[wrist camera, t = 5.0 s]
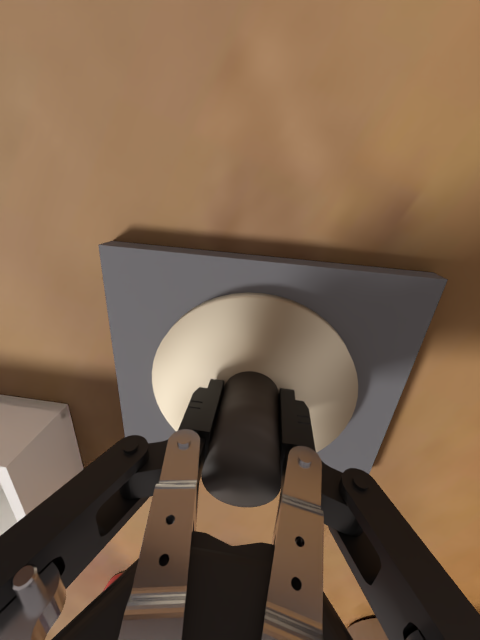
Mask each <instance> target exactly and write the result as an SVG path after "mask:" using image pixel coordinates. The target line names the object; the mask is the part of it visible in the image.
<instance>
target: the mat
mask: <svg viewBox="0 0 480 640" xmlns="http://www.w3.org/2000/svg"><path fill="white" fill-rule="evenodd" d="M99 252H100V259H101V267H102V274H103V281H104V288H105V296H106V303H107V310H108V317H109V325H110V332H111V339H112V347H113V354H114V361H115V368H116V376H117V383H118V390H119V397H120V405H121V412H122V419H123V426H124V434H125V437H127V436H131V435H139V436H142V437H144V438H145V439H146V440H147V442H148V443H155V442H161V441H165V440H168V439H169V437H170V436H171V435H172V434H173V433H174V432H176V431H175V430H174V429H173V428H172V426H171V425H170V424H169V423H168V421H167V420H166V418H165V417H164V415H163V414H162V412H161V410H160V408H159V406H158V404H157V401H156V398H155V395H154V391H153V385H152V368H153V361H154V358H155V355H156V352H157V349H158V347H159V345H160V343H161V342H162V340H163V338H164V337H165V336H166V334H167V333H168V332H169V330H170V329H171V328H172V326H173V325H174V324H175V323H176V322H177V321H178V320H179V319H180V318H181V317H182V316H183V315H184V314H186V313H187V312H188V311H190V310H191V309H192V308H194V307H196V306H198V305H200V304H202V303H203V302H205V301H208V300H211V299H214V298H216V297H220V296H224V295H229V294H236V293H264V294H270V295H276V296H280V297H283V298H287V299H290V300H293V301H295V302H297V303H299V304H302V305H304V306H306V307H307V308H309V309H311V310H312V311H314V312H316V313H317V314H318V315H320V316H321V317H322V318H323V319H325V320H326V321H327V322H328V323H329V324H330V325H331V326H332V327H333V328H334V329H335V330H336V331H337V333H338V334H339V336H340V337H341V339H342V340H343V342H344V343H345V345H346V347H347V350H348V352H349V354H350V356H351V358H352V360H353V362H354V366H355V369H356V372H357V379H358V398H357V402H356V407H355V410H354V412H353V415H352V417H351V419H350V421H349V422H348V424H347V426H346V427H345V429H344V430H343V431H342V432H341V434H340V435H339V436H338V437H337V438H336V439H335V440H334V441H332V442H331V443H330V444H329V445H327V446H326V447H325V448H323V449H322V450H320V451H318V452H316V453H317V454H318V455H319V457H320V459H321V460H322V461H323V462H324V463H325V464H326V465H328V466H329V467H331V468H333V469H336V470H338V471H340V472H342V473H343V472H344V471H345V470H346V469H349V468H357V469H360V470H363V471H364V472H366V473H368V474H369V473H370V470H371V468H372V465H373V463H374V461H375V458H376V456H377V453H378V451H379V448H380V446H381V443H382V441H383V438H384V436H385V433H386V431H387V428H388V426H389V423H390V421H391V419H392V416H393V414H394V411H395V409H396V406H397V404H398V401H399V399H400V396H401V394H402V391H403V389H404V386H405V384H406V381H407V379H408V376H409V374H410V372H411V369H412V367H413V364H414V362H415V359H416V357H417V354H418V352H419V349H420V347H421V344H422V342H423V339H424V337H425V334H426V332H427V329H428V327H429V325H430V322H431V320H432V317H433V315H434V312H435V310H436V307H437V305H438V302H439V300H440V297H441V295H442V292H443V290H444V287H445V285H446V282H447V279H445V278H443V277H441V276H439V275H437V274H435V273H432V272H422V271H412V270H402V269H391V268H381V267H371V266H361V265H351V264H341V263H331V262H320V261H310V260H300V259H290V258H280V257H270V256H260V255H250V254H239V253H229V252H219V251H209V250H199V249H189V248H179V247H168V246H158V245H148V244H138V243H128V242H118V241H110V242H106V243H103V244H99Z"/></svg>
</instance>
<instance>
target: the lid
mask: <svg viewBox="0 0 480 640" xmlns="http://www.w3.org/2000/svg"><path fill="white" fill-rule="evenodd" d="M210 379H217V380H224V390H223V394H222V398H221V402H220V406H219V409H218V413H217V417H216V421H215V425H214V429H213V433H212V437H211V440H210V444H209V447H208V451H207V455H206V458H205V462H204V466H203V470H202V482H203V484H204V486H205V488H206V490H207V491H208V492H209V493H210V494H211V495H212V496H214V497H215V498H216V499H218V500H220V501H222V502H224V503H227V504H229V505H233V506H238V507H257V506H261V505H264V504H267V503H269V502H270V501H272V500H273V499H274V498H275V497H276V496H277V495H278V494H279V492H280V489H281V459H280V428H279V390H280V388H284V389H292V390H294V391H295V400H299V401H304V402H305V404H306V405H307V407H308V408H309V413H310V419H311V425H312V431H313V438H314V444H315V450H316V452H318V451H320V450H322V449H323V448H325V447H326V446H327V445H329V444H330V443H331V442H332V441H334V440H335V439H336V438H337V437H338V436H339V435H340V434H341V432H342V431H343V430H344V429H345V427H346V426H347V424H348V422H349V421H350V419H351V417H352V415H353V412H354V410H355V407H356V402H357V398H358V379H357V372H356V369H355V366H354V362H353V360H352V358H351V356H350V354H349V352H348V350H347V347H346V345H345V343H344V342H343V340H342V339H341V337H340V336H339V334H338V333H337V331H336V330H335V329H334V328H333V327H332V326H331V325H330V324H329V323H328V322H327V321H326V320H325V319H323V318H322V317H321V316H320V315H318V314H317V313H316V312H314V311H312V310H311V309H309V308H307V307H306V306H304V305H302V304H299V303H297V302H295V301H293V300H290V299H287V298H283V297H280V296H276V295H270V294H264V293H236V294H229V295H224V296H220V297H216V298H214V299H211V300H208V301H205V302H203V303H202V304H200V305H198V306H196V307H194V308H192V309H191V310H190V311H188V312H187V313H186V314H184V315H183V316H182V317H181V318H180V319H179V320H178V321H177V322H176V323H175V324H174V325H173V326H172V328H171V329H170V330H169V332H168V333H167V334H166V336H165V337H164V338H163V340H162V342H161V343H160V345H159V347H158V349H157V352H156V355H155V358H154V361H153V368H152V385H153V391H154V395H155V398H156V401H157V404H158V406H159V408H160V410H161V412H162V414H163V415H164V417H165V418H166V420H167V421H168V423H169V424H170V425H171V426H172V428H173V429H174V430H175V431H178V429H179V427H180V424H181V422H182V419H183V417H184V414H185V412H186V409H187V408H188V404H189V402H190V399H191V397H192V394H193V393H194V392H195V391H196V390H197V389H198V388H199V387H203V388H208V385H209V382H210Z"/></svg>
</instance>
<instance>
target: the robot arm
mask: <svg viewBox="0 0 480 640" xmlns="http://www.w3.org/2000/svg"><path fill="white" fill-rule="evenodd" d="M223 390H224V380H217V379H210V382H209V385H208V388H203V387H199V388H198V389H197V390H196V391H195V392H194V393H193V394H192V397H191V399H190V402H189V404H188V408H187V409H186V412H185V414H184V417H183V419H182V422H181V424H180V427H179V429H178V431H176V432H174V433H173V434H172V435H171V436H170V437H169V439H168V440H165V441H161V442H155V443H148V442H147V440H146V439H145V438H144V437H142V436H139V435H131V436H127V437H125V438H123V439H121V440H120V441H118V442H117V443H116V444H115V445H113V446H112V447H111V448H110V449H108V450H107V451H106V452H105V453H103V454H102V455H101V456H100V457H98V458H97V459H96V460H95V461H93V462H92V463H91V464H90V465H88V466H87V467H86V468H85V469H83V470H82V471H81V472H80V473H78V474H77V475H76V476H75V477H73V478H72V479H71V480H70V481H68V482H67V483H66V484H65V485H63V486H62V487H61V488H60V489H58V490H57V491H56V492H54V493H53V494H52V495H51V496H49V497H48V498H47V499H46V500H44V501H43V502H42V503H41V504H39V505H38V506H37V507H36V508H34V509H33V510H32V511H31V512H29V513H28V514H27V515H26V516H24V517H23V518H22V519H21V520H19V521H18V522H17V523H16V524H14V525H13V526H12V527H11V528H9V529H8V530H7V531H6V532H4V533H3V534H2V535H1V536H0V640H45V637H46V635H47V633H48V632H49V630H50V628H51V627H52V626H53V624H54V623H55V621H56V620H57V619H58V617H59V615H60V614H61V612H62V610H63V607H64V604H65V600H66V588H67V587H68V586H69V585H70V584H71V583H72V582H73V581H74V580H75V579H76V577H77V576H78V575H79V574H80V573H81V572H82V571H83V570H84V569H85V568H86V566H87V565H88V564H89V563H90V562H91V561H92V560H93V559H94V558H95V557H96V555H97V554H98V553H99V552H100V551H101V550H102V549H103V548H104V547H105V546H106V544H107V543H108V542H109V541H110V540H111V539H112V538H113V537H114V536H115V535H116V533H117V532H118V531H119V530H120V529H121V528H122V527H123V526H124V525H125V524H126V522H127V521H128V520H129V519H130V518H131V517H132V516H133V515H134V514H135V513H136V511H137V510H138V509H139V508H140V507H141V506H142V505H143V504H144V503H145V502H146V500H147V499H148V498H149V497H150V496H153V498H152V502H151V507H150V511H149V516H148V520H147V525H146V529H145V534H144V538H143V542H142V547H141V551H140V556H139V558H138V559H137V560H136V561H135V562H134V563H133V564H132V565H131V566H130V567H129V568H128V569H127V570H126V571H125V572H123V573H122V574H121V575H120V576H119V577H118V578H117V579H116V580H115V581H114V582H113V583H112V584H111V585H110V586H108V587H107V588H106V589H105V590H104V591H103V592H102V593H101V594H100V595H99V596H98V597H97V598H96V599H94V600H93V601H92V602H91V603H90V604H89V605H88V606H87V607H86V608H85V609H84V610H83V611H82V612H81V613H79V614H78V615H77V616H76V617H75V618H74V619H73V620H72V621H71V622H70V623H69V624H68V625H67V626H66V627H64V628H63V629H62V630H61V631H60V632H59V633H58V634H57V635H56V636H55V637H54V638H53V639H52V640H480V615H479V613H478V612H477V611H476V609H475V608H474V607H473V606H472V604H471V603H470V602H469V600H468V599H467V598H466V597H465V595H464V594H463V593H462V592H461V590H460V589H459V588H458V586H457V585H456V584H455V583H454V581H453V580H452V579H451V577H450V576H449V575H448V574H447V572H446V571H445V570H444V568H443V567H442V566H441V565H440V563H439V562H438V561H437V559H436V558H435V557H434V556H433V554H432V553H431V552H430V551H429V549H428V548H427V547H426V545H425V544H424V543H423V542H422V540H421V539H420V538H419V536H418V535H417V534H416V533H415V531H414V530H413V529H412V527H411V526H410V525H409V524H408V522H407V521H406V520H405V518H404V517H403V516H402V515H401V513H400V512H399V511H398V509H397V508H396V507H395V506H394V504H393V503H392V502H391V501H390V499H389V498H388V497H387V495H386V494H385V493H384V492H383V490H382V489H381V488H380V486H379V485H378V484H377V483H376V481H375V480H374V479H373V478H372V477H371V476H370V475H369V474H368V473H366V472H364V471H363V470H360V469H357V468H349V469H346V470H345V471H344V472H343V473H342V472H340V471H338V470H336V469H333V468H331V467H329V466H328V465H326V464H325V463H324V462H323V461H322V460H321V459H320V457H319V455H318V454H317V453H316V450H315V444H314V438H313V431H312V425H311V419H310V413H309V408H308V407H307V405H306V404H305V402H304V401H299V400H295V391H294V390H292V389H284V388H280V390H279V428H280V459H281V492H280V497H279V504H278V510H277V516H276V522H275V528H274V534H273V540H272V544H267V543H254V544H247V545H239V546H231V545H228V544H226V543H224V542H222V541H220V540H218V539H216V538H214V537H213V536H211V535H209V534H207V533H202V532H196V521H197V508H198V495H199V481H200V478H201V474H202V470H203V466H204V462H205V458H206V455H207V451H208V447H209V444H210V440H211V437H212V433H213V429H214V425H215V421H216V417H217V413H218V409H219V406H220V402H221V398H222V394H223ZM324 524H326V525H328V527H329V530H330V532H331V534H332V535H333V537H334V539H335V541H336V543H337V545H338V547H339V548H340V550H341V552H342V554H343V556H344V558H345V560H346V561H347V563H348V565H349V567H350V569H351V571H352V573H353V574H354V576H355V578H356V580H357V582H358V584H359V586H360V587H361V589H362V591H363V593H364V595H365V597H366V599H367V600H368V602H369V604H370V606H371V608H372V610H373V612H374V613H375V615H376V617H377V618H372V619H367V620H362V621H360V622H357V623H354V624H353V625H351V626H350V627H349V628H348V629H346V627H345V625H344V624H343V622H342V621H341V619H340V617H339V616H338V614H337V613H336V611H335V609H334V608H333V606H332V605H331V603H330V601H329V600H328V598H327V597H326V595H325V593H324V592H323V542H324Z"/></svg>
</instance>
